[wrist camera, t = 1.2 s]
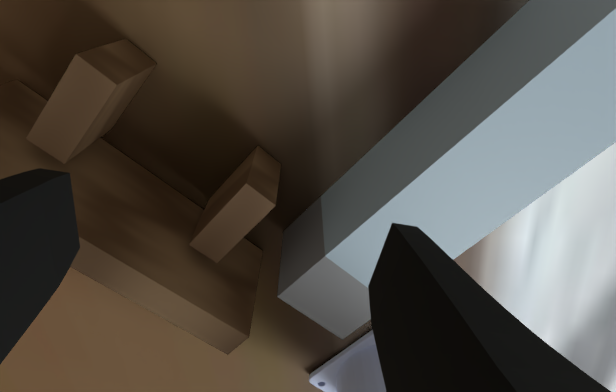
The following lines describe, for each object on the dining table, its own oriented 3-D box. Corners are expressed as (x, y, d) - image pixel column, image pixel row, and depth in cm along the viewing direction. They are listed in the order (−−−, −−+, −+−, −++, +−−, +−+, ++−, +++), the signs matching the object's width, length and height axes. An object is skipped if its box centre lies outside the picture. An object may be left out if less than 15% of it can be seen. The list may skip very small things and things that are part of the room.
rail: (544, -15, 15) (640, -13, 11) (593, 57, 17) (696, 83, 12) (283, 231, 21) (277, 296, 17) (335, 269, 22) (342, 339, 18)
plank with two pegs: (320, 196, 20) (326, 273, 15) (246, 266, 22) (227, 354, 17) (65, -11, 15) (-63, -9, 10) (3, 104, 17) (-128, 156, 12)
